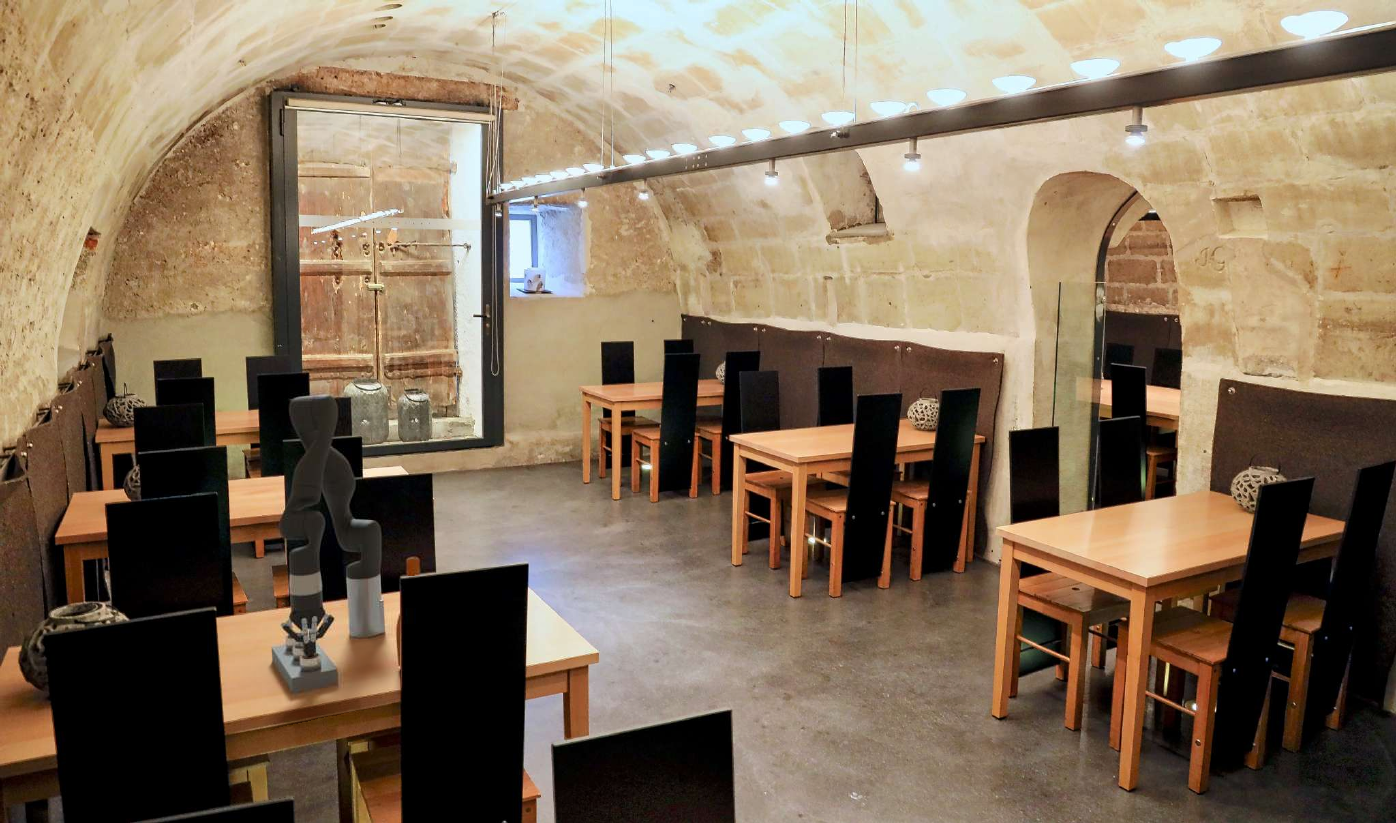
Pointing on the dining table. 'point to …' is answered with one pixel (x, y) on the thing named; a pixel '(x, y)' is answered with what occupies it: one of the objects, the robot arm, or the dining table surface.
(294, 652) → the knob
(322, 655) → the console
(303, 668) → the knob
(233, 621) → the dining table surface
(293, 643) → the knob
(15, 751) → the dining table surface
